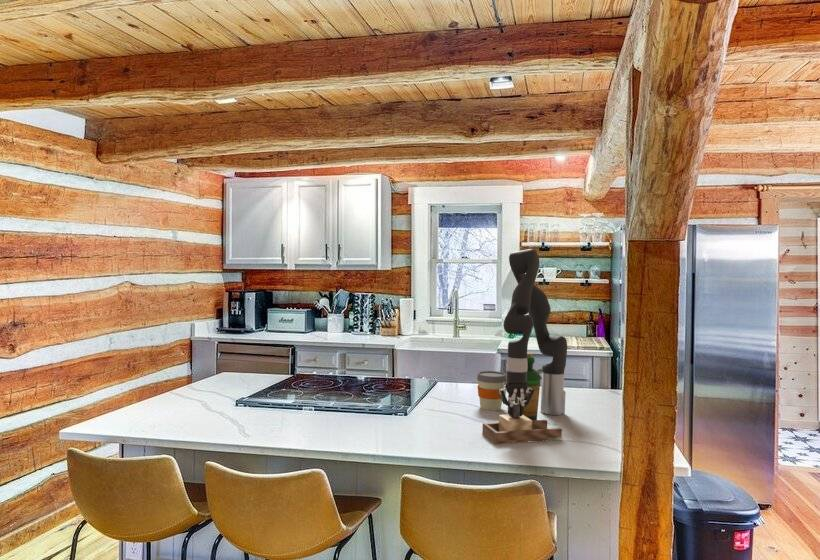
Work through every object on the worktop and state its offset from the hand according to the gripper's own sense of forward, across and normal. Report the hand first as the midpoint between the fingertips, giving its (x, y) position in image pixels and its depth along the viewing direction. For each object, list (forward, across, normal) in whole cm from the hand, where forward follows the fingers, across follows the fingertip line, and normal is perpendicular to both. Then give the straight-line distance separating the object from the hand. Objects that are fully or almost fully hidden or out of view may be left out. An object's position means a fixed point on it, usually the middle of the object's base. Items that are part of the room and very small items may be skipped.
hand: (515, 415), depth 219 cm
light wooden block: (+7, 0, 0) cm, 7 cm away
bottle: (+8, -13, -17) cm, 23 cm away
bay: (+8, -3, 0) cm, 8 cm away
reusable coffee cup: (+8, -8, -41) cm, 43 cm away
